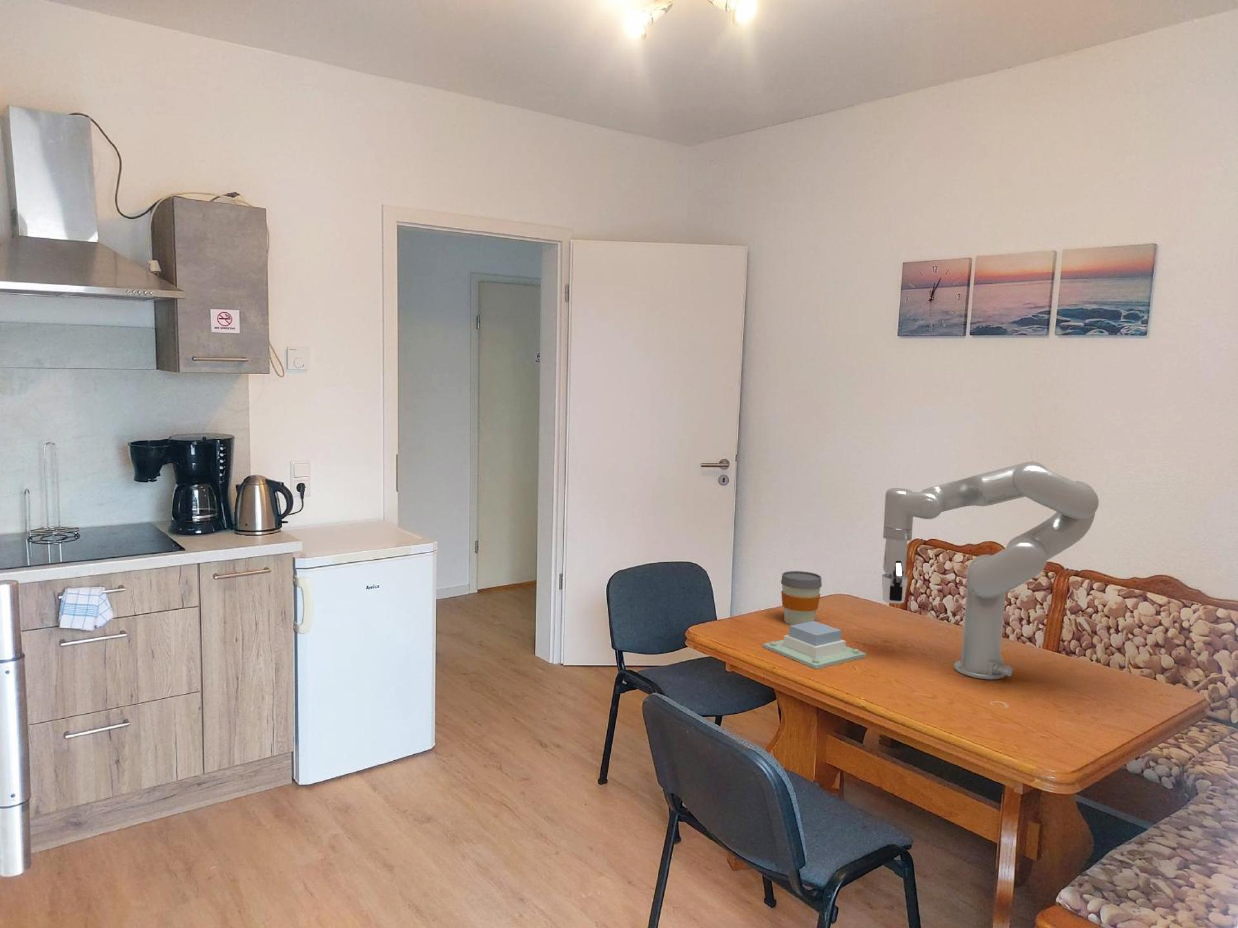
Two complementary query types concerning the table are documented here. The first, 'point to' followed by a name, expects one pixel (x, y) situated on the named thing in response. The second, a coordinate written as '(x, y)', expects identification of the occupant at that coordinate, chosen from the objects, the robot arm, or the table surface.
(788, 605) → the reusable coffee cup
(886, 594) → the white tapered cup
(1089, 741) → the table surface
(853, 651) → the stepped tiered stack
